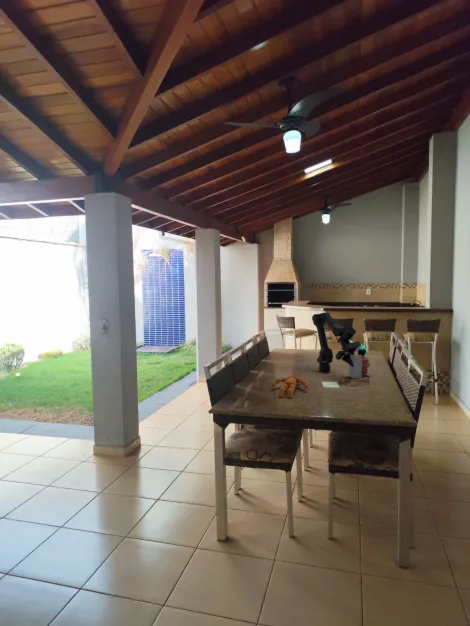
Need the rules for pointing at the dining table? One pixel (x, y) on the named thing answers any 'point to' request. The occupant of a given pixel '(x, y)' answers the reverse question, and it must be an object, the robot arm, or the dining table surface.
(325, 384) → the sage mat
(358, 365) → the slate block
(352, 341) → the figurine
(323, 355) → the robot arm
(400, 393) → the dining table surface
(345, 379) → the walnut rack
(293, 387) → the toy
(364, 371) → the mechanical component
